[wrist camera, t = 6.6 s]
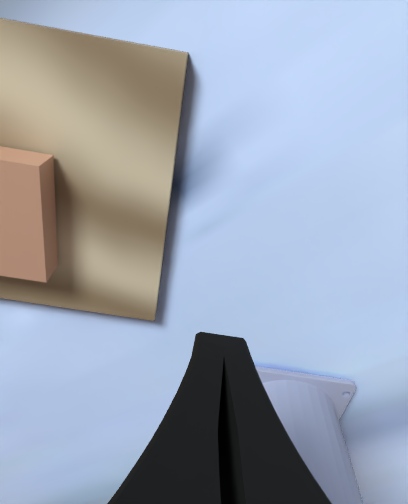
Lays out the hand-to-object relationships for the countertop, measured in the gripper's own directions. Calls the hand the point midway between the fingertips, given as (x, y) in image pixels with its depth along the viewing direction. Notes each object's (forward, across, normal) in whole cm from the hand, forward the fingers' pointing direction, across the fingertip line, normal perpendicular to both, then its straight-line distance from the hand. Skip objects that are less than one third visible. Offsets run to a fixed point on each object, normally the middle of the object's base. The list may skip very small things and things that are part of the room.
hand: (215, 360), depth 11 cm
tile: (+8, +8, +1) cm, 11 cm away
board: (+10, +9, 0) cm, 13 cm away
